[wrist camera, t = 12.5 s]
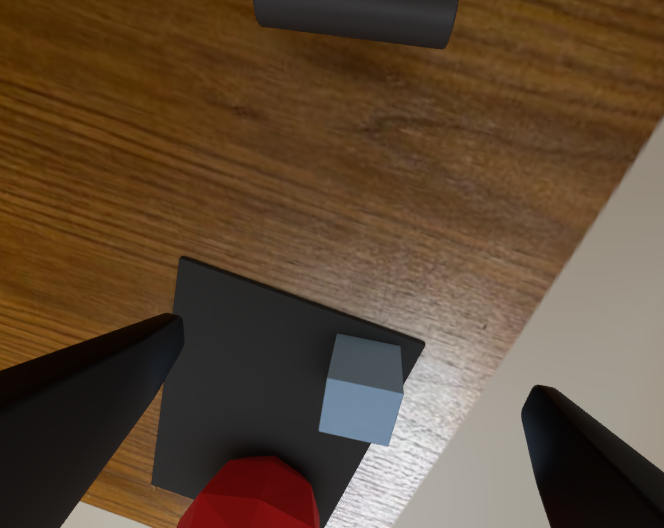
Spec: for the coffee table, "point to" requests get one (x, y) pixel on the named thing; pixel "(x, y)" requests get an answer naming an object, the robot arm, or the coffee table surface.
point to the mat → (256, 384)
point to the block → (362, 390)
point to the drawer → (364, 19)
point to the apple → (254, 497)
